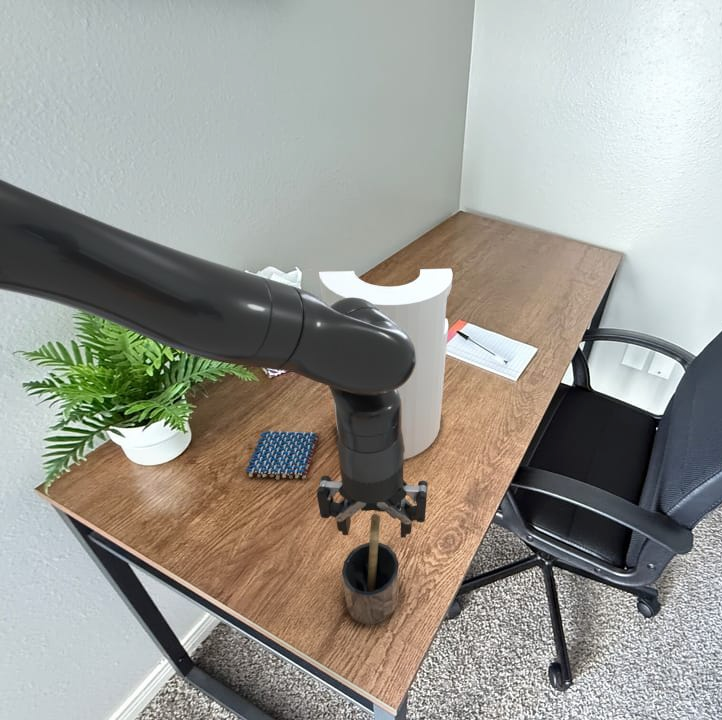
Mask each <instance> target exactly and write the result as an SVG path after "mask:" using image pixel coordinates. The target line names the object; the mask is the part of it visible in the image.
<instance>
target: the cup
mask: <svg viewBox="0 0 722 720" xmlns="http://www.w3.org/2000/svg"><path fill="white" fill-rule="evenodd" d="M369 545H370V541H369V542H365V543H363V544H360V545H358V546H357V547H355V548H353V550H350V552H349V553H348V555H347V556H346V558H345V560H344V561H343V565H342V571H341V577H342V583H343V589H344V596H345V603H346V607H347V611H348V613H349V615H350V616H351V618H352V619H353V620H354V621H356V622H358V623H359V624H363V625H367V626H368V625H369V626H371V625H377V624H379V623H382V622H384V621H385V620H387V619H388V618H389V617H390V616H391V615H392V614H393V612H394V611H395V610H396V607H397V605H398V601H399V592H400V591H399V587H400V584H399V583H400V581H399V580H400V574H399V573H400V564H399V560H398V555H397V553H396V552H395V551H394V550H393V549H392V548H391V547H390V546H389V545H387V544H384V543H382V542H378V557H377V573H376V589H375V591H373V592H367V578H368V562H369Z"/></svg>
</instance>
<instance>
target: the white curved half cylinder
mask: <svg viewBox="0 0 722 720" xmlns="http://www.w3.org/2000/svg"><path fill="white" fill-rule="evenodd" d="M453 275H454V274H453V270H452V268H423V269H422V268H421V269H419V275H418V277H417V278H416V279H415V280H413V281H411V282H409V283H405V284H402V285H394V286H384V285H377V284H373V283H368V282H366V281H363V280H362V279H361V278H359V277H358V276H357V275H356V273H355V271H354V270H339V271H337V270H336V271H335V270H333V271H318V276H319V277H318V278H319V285H320V295H321V300H322V301H323V302H324V303H325V304H327V305H328V306H329V307H330V306H331V305H333V304H334V303H336V302H337V301H339V300H342V299H344V298H351V297H353V298H360V299H364V300H366V301H368V302H370V303H372V304H374V305H375V306H376V307H377V308H379V309H380V310H381V311H382V312H383V313H384V314H385V315H386V316H387V317H388V318H389V319H391V320H392V321H393V322H394V323H395V324H396V325H397V326H398V327H399V328H401V329H402V330H403V331H404V332H405V333H406V334H407V335H408V337H409V338H410V339H411V341H412V343H413V345H414V347H415V351H416V365H415V369H414V371H413V373H412V375H411V376H410V378H409V379H408V380H407V382H406V383H405V384H403V385H402V386H401V387H399V388H398V389H397V390H398V392H399V394H400V398H401V404H402V434H403V440H404V449H405V451H404V460H407V459H410V458H413V457H415V456H417V455H419V454H421V453H423V452H424V451H425V450H426V449H428V448H429V447H431V445H432V444H433V443H434V442H435V440H436V438H437V437H438V434H439V432H440V429H441V417H442V405H443V395H444V382H445V372H446V371H445V370H446V357H447V345H448V334H449V320H448V318H446V316H447V315H446V314H447V305H448V304H447V303H448V297H449V295H450V293H451V290H452V285H453ZM332 400H333V406H334V413H335V414H334V416H335V423H336V424H335V425H336V432H338V426H337V417H336V404H335V401H334V398H333V397H332Z"/></svg>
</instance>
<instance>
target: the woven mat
mask: <svg viewBox="0 0 722 720" xmlns="http://www.w3.org/2000/svg"><path fill="white" fill-rule="evenodd" d="M259 436H260V437H261V438H259V440H257V444H256V446H255V447H254V450H255V451H254V452H253V453H251V457H252V458H251V459H250V460H248V464H249V465H248V466H247V467H246V468H245V471H246V475H248V477H249V478H252V477H253V476H255V475H256V478H258V479H260V478H261V477H262V478H267V476H268V475H269V478H274V477H275V480H276V481H279V480H280V478H282V479H286V477H288V478H289V479H290V480H291V479H293V478H294V479H298V478H300V476H302V477H301V479H302V480H305V479H307V476H308V472H309V470H310V469H311V468H312V466H311V463H312V462H313V459H312V458H313V457H314V456H313V455H314V453H315V450H316V449H317V446H316V445H317V442H318V440H319V439H318V438H319V435H317V433H316V432H313V431H310V432H306V431H304V432H301V430H300V431H277V430H275V431H273V430H267V431H263V432H262V433H260V435H259ZM275 475H276V476H275Z"/></svg>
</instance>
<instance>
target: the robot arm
mask: <svg viewBox="0 0 722 720" xmlns="http://www.w3.org/2000/svg"><path fill="white" fill-rule="evenodd" d="M0 290H1V291H7V292H11V293H16V294H22V295H25V296H30V297H33V298H38V299H41V300H45V301H49V302H52V303H56V304H59V305H62V306H65V307H67V308H71V309H74V310H77V311H79V312H83V313H86V314H89V315H91V316H94V317H96V318H99V319H101V320H105V321H107V322H110V323H112V324H115V325H116V326H119V327H121V328H123V329H126V330H128V331H129V332H132V333H134V334H137V335H140V336H142V337H144V338H147V339H148V340H150V341H153V342H155V343H158V344H161V345H163V346H166V347H168V348H170V349H173V350H177V351H180V352H182V353H184V354H185V353H186V354H189V355H191V356H194V357H198V358H201V359H205V360H209V361H213V362H217V363H218V362H219V363H224V364H231V365H236V366H237V365H238V366H245V367H246V366H247V367H253V368H259V369H266V370H267V369H268V370H273V371H274V370H276V371H287V372H291V373H294V374H296V375H299V376H300V377H301V376H302V377H304V378H305V379H309V380H311V381H314V382H317V383H320V384H321V385H326V386H328V387H329V390H330V393H331V395H332V399H333V398H334V399H333V402H334V401H335V404H336V416H335V418H336V417H337V425H336V427H337V426H338V431H337V435H338V437H337V454H338V461H339V463H338V464H339V470H340V478H341V481H332V478H331V476H329V475H322V476H321V478H320V480H319V485H318V488H317V491H316V498H317V503H318V509H319V515H320V517H321V518H322V519H329V518H330V517H333V518H334V520H335V521H336V527H337V528H336V529H337V530H338V531H339V532H341V533H342V536H349V532H350V528H351V522H352V520H351V517H353V516H354V515H355V514H356V513H357V512H358V511H361V512H369V511H375V512H383V513H386V514H388V515H389V516H390V517H391V518H392V519H395V520H396V519H398V520H399V521H400V538H401V539H402V538H403V539H406V537H407V535H410V534H411V533H412V527H413V526H412V525H413V522H414V521H416V523H420V524H421V523H424V522H425V521H426V511H427V510H426V509H427V499H428V498H427V497H428V485H429V483H428V482H427V481H426V480H419V481H418V483H417V484H418V485H413V484H412V485H411V484H407V482H406V481H405V480H404V461H405V459H404V451H405V449H404V440H403V434H402V404H401V398H400V394H399V392H398V390H397V389H398V388H399V387H401V386H402V385H403V384H405V383H406V382H407V380H408V379H409V378H410V376H411V375H412V373H413V371H414V369H415V365H416V351H415V347H414V345H413V343H412V341H411V339H410V338H409V337H408V335H407V334H406V333H405V332H404V331H403V330H402V329H401V328H399V327H398V326H397V325H396V324H395V323H394V322H393V321H392V320H391V319H389V318H388V317H387V316H386V315H385V314H384V313H383V312H382V311H381V310H380V309H379V308H377V307H376V306H375V305H374V304H372V303H370V302H368V301H366V300H364V299H360V298H353V297H351V298H344V299H342V300H339V301H337V302H336V303H334V304H333V305H331V306H330V307H329V306H328V305H327V304H325V303H324V302H323V301H322V299H320V298H319V297H318V296H316V295H315V294H313V293H311V292H309V291H307V290H304V289H302V288H299V287H297V286H294V285H289V284H287V283H283V282H281V281H277V280H274V279H270V278H267V277H264V276H260V275H257V274H253V273H250V272H247V271H244V270H240V269H237V268H234V267H230V266H227V265H223V264H220V263H217V262H214V261H210V260H209V259H208V260H207V259H205V258H202V257H199V256H196V255H192V254H189V253H187V252H184V251H181V250H179V249H175V248H173V247H170V246H167V245H164V244H161V243H158V242H156V241H153V240H150V239H148V238H145V237H143V236H139V235H137V234H134V233H131V232H129V231H126V230H124V229H121V228H119V227H116V226H113V225H111V224H109V223H106V222H104V221H100V220H99V219H96V218H94V217H91V216H88V215H86V214H84V213H81V212H80V211H77V210H74V209H72V208H69V207H66V206H64V205H62V204H60V203H56V202H55V201H52V200H49V199H47V198H45V197H43V196H40V195H38V194H35V193H33V192H31V191H28V190H26V189H23V188H21V187H19V186H17V185H15V184H12V183H10V182H8V181H5V180H3V179H1V178H0ZM337 493H339V495H340V496H341V497H342V499H341V500H340V501H339V502H335V498H334V497H336V494H337ZM406 496H408V497H410V499H411V501H412V503H413V504H414V505H413V504H412V503H411V502H410V501H409V500H408V499H407V498H406Z"/></svg>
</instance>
